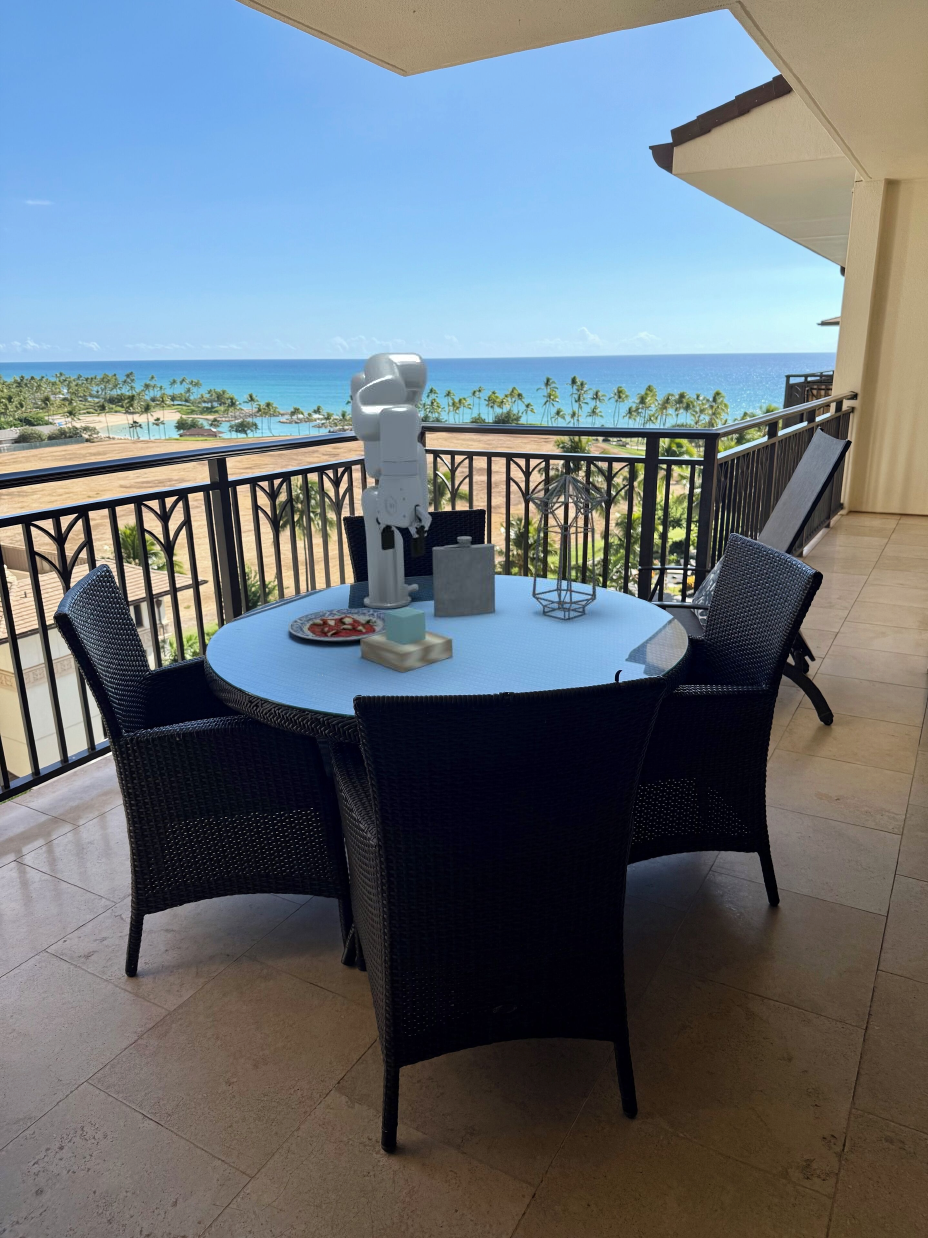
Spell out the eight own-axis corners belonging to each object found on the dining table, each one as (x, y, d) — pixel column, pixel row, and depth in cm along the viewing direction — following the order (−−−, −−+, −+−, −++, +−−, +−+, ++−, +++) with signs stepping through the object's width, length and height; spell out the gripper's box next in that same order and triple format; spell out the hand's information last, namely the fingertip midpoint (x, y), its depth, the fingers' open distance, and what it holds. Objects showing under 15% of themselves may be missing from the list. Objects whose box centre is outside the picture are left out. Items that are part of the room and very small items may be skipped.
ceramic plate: (293, 653, 179) (292, 640, 178) (285, 621, 203) (284, 610, 202) (407, 642, 186) (407, 629, 185) (386, 613, 210) (386, 601, 209)
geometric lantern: (520, 614, 206) (522, 475, 197) (562, 604, 216) (565, 471, 207) (567, 626, 195) (571, 478, 186) (608, 614, 205) (614, 474, 196)
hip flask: (493, 609, 210) (492, 533, 205) (497, 613, 207) (497, 536, 201) (433, 614, 207) (431, 537, 201) (436, 618, 203) (434, 540, 197)
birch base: (410, 642, 185) (410, 625, 183) (452, 656, 175) (452, 638, 174) (361, 657, 175) (360, 639, 174) (402, 672, 166) (401, 653, 164)
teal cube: (407, 633, 178) (406, 606, 176) (425, 638, 174) (424, 611, 172) (386, 639, 174) (385, 612, 172) (404, 645, 170) (403, 617, 168)
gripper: (359, 468, 167) (363, 549, 172) (413, 474, 155) (416, 561, 160) (387, 465, 172) (390, 544, 177) (442, 470, 160) (444, 555, 165)
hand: (403, 552), depth 169 cm, fingers open, 9 cm apart
